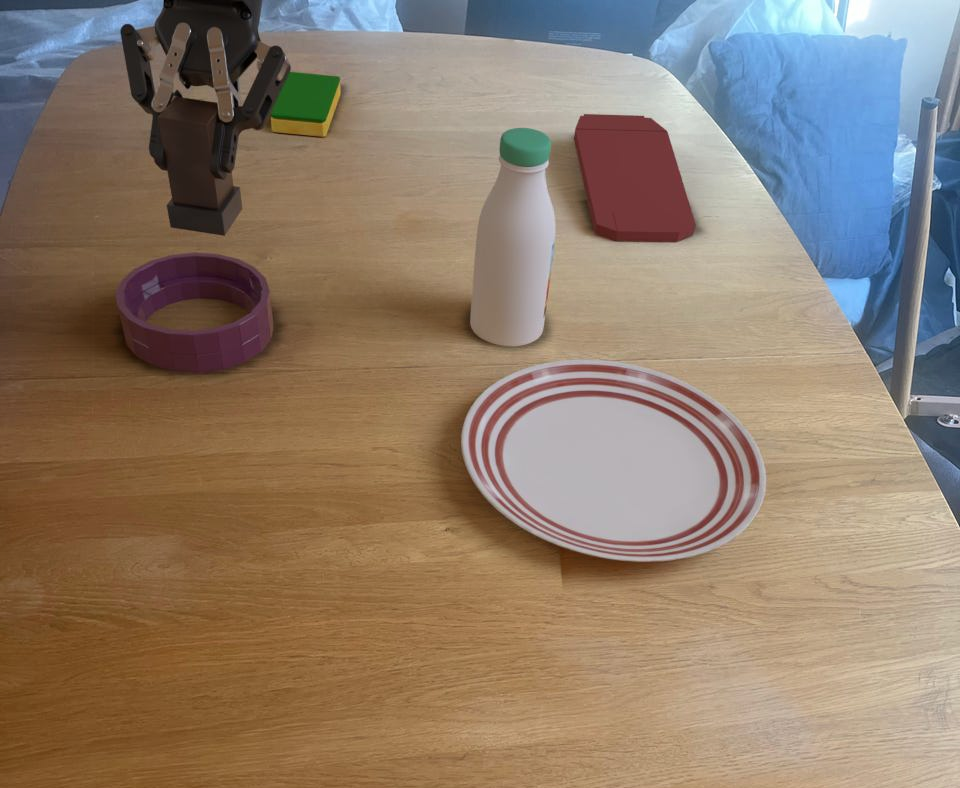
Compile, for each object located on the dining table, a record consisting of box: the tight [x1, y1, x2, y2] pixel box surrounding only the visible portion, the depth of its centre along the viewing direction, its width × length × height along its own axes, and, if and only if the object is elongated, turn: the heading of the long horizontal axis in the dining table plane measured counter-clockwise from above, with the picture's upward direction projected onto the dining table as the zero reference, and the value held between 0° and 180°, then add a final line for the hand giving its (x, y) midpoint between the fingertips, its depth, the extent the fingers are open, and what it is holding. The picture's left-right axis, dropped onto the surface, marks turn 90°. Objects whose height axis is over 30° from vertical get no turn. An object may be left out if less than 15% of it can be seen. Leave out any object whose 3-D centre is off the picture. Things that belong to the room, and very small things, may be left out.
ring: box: [115, 252, 274, 374], centre depth 98 cm, size 14×14×5 cm
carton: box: [573, 113, 697, 243], centre depth 126 cm, size 12×5×25 cm
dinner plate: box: [460, 358, 767, 563], centre depth 90 cm, size 28×27×3 cm
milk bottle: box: [469, 127, 556, 347], centre depth 97 cm, size 8×8×20 cm
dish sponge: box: [269, 71, 342, 138], centre depth 133 cm, size 7×14×2 cm, turn 177°
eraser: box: [158, 97, 243, 237], centre depth 83 cm, size 5×5×9 cm
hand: (190, 170), depth 81 cm, fingers closed on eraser, 4 cm apart
